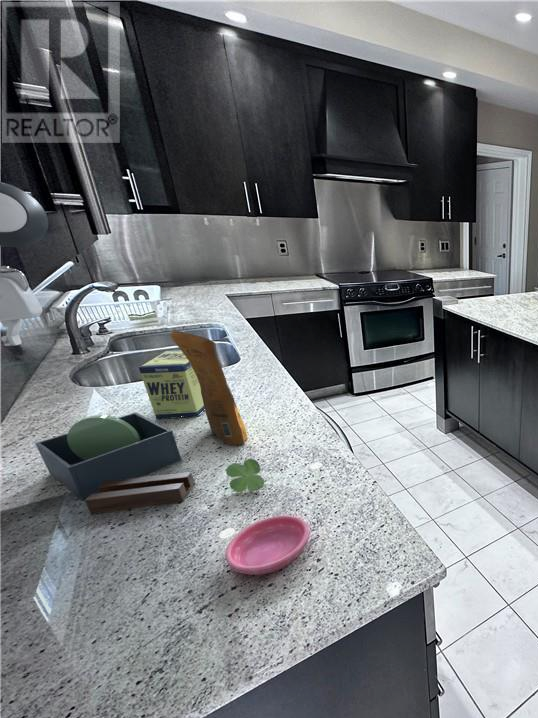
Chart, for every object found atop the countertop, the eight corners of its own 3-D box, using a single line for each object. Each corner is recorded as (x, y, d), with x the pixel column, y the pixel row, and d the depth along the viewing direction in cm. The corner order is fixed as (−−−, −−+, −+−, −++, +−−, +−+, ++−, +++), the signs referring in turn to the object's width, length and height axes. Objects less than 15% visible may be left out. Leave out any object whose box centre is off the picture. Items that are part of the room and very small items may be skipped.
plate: (147, 458, 92) (122, 412, 87) (84, 470, 89) (54, 424, 84) (150, 455, 93) (125, 410, 88) (87, 467, 90) (58, 421, 85)
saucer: (305, 574, 66) (302, 560, 65) (218, 590, 63) (213, 575, 62) (316, 522, 77) (313, 509, 76) (242, 534, 74) (238, 520, 73)
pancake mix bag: (227, 454, 97) (196, 343, 86) (197, 429, 108) (166, 327, 97) (257, 443, 102) (231, 336, 92) (225, 420, 113) (199, 322, 102)
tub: (83, 500, 81) (67, 468, 78) (49, 474, 88) (34, 443, 85) (181, 459, 95) (172, 430, 92) (146, 439, 102) (136, 412, 99)
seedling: (258, 498, 90) (248, 502, 84) (228, 476, 90) (215, 478, 83) (282, 472, 93) (274, 473, 86) (253, 451, 92) (242, 451, 85)
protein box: (155, 419, 111) (137, 367, 105) (183, 396, 125) (168, 348, 119) (198, 417, 114) (183, 365, 108) (221, 394, 128) (208, 347, 122)
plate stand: (183, 502, 81) (178, 488, 80) (90, 514, 77) (84, 500, 76) (195, 484, 87) (191, 471, 85) (109, 494, 82) (103, 481, 81)
